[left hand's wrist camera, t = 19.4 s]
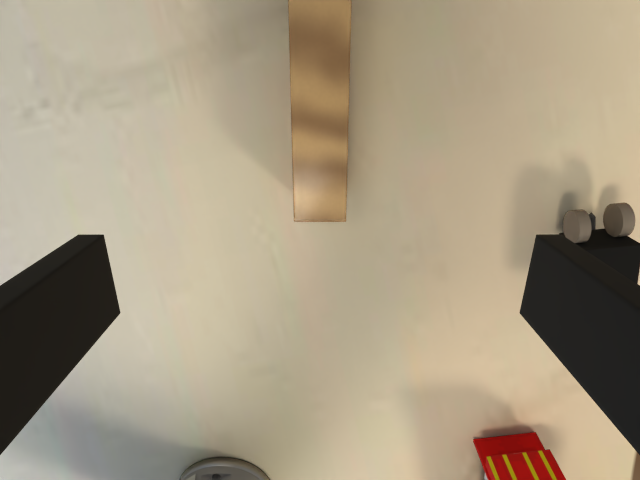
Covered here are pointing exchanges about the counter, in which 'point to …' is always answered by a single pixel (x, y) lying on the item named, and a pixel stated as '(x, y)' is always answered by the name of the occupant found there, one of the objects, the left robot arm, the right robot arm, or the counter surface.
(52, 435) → the counter surface
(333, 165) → the bar
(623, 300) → the left robot arm
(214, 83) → the counter surface
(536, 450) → the toy
